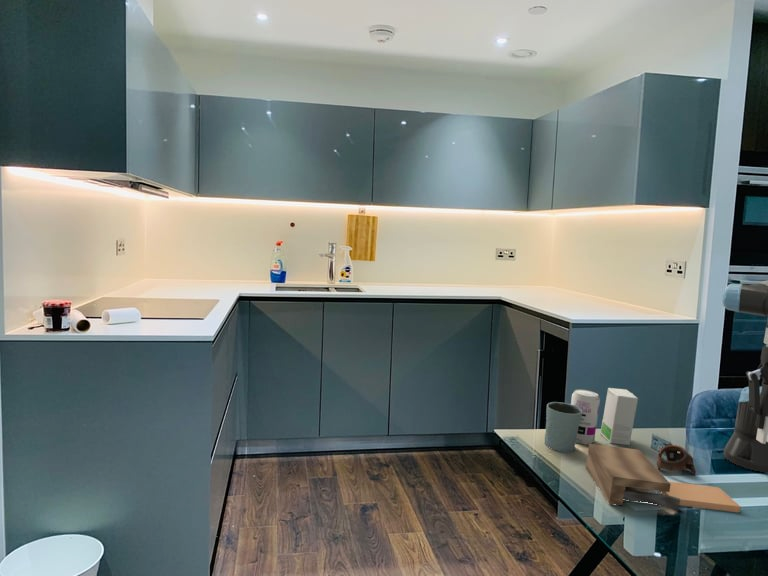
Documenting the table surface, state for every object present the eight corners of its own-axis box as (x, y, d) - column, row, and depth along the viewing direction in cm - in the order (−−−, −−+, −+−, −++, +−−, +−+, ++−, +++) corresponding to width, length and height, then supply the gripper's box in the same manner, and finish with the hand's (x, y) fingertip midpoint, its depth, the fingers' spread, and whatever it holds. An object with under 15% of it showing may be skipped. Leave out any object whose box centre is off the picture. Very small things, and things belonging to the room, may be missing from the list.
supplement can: (588, 436, 173) (595, 390, 172) (597, 446, 165) (604, 398, 163) (563, 433, 174) (569, 387, 172) (570, 443, 165) (577, 395, 164)
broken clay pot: (704, 482, 147) (697, 459, 144) (668, 492, 149) (661, 468, 146) (684, 454, 158) (678, 431, 156) (651, 463, 160) (644, 441, 158)
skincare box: (599, 433, 176) (606, 387, 175) (620, 435, 176) (626, 389, 175) (610, 444, 168) (617, 395, 166) (631, 445, 168) (638, 397, 166)
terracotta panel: (717, 494, 140) (718, 487, 140) (739, 514, 130) (740, 506, 130) (653, 487, 142) (654, 479, 141) (670, 506, 132) (671, 498, 131)
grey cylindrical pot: (567, 440, 168) (572, 402, 167) (583, 454, 158) (589, 414, 157) (536, 439, 166) (541, 401, 165) (551, 453, 156) (556, 412, 155)
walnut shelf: (650, 476, 146) (654, 451, 146) (683, 514, 127) (688, 486, 126) (585, 468, 148) (589, 443, 147) (608, 504, 128) (612, 476, 127)
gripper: (803, 347, 133) (786, 440, 136) (741, 341, 135) (726, 432, 137) (824, 354, 126) (806, 452, 129) (759, 347, 127) (742, 444, 130)
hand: (765, 442), depth 133 cm, fingers closed
